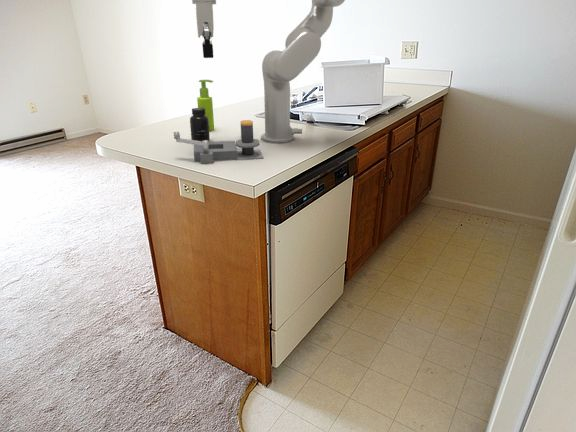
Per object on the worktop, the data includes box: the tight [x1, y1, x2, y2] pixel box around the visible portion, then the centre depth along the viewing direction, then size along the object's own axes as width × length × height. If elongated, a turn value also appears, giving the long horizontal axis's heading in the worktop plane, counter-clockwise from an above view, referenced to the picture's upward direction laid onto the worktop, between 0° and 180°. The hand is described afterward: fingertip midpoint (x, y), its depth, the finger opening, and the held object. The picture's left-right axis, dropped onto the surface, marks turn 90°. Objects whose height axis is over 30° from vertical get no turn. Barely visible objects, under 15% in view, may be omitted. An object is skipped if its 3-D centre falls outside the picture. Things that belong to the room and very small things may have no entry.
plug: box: [235, 119, 261, 156], centre depth 138 cm, size 8×8×11 cm
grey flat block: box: [193, 140, 238, 165], centre depth 139 cm, size 14×14×3 cm
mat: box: [235, 149, 264, 161], centre depth 141 cm, size 9×9×1 cm
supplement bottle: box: [189, 107, 211, 142], centre depth 154 cm, size 7×7×12 cm
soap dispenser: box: [196, 79, 215, 133], centre depth 167 cm, size 6×7×20 cm
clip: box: [173, 131, 209, 153], centre depth 134 cm, size 2×13×5 cm, turn 66°
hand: (208, 56), depth 139 cm, fingers open, 9 cm apart
